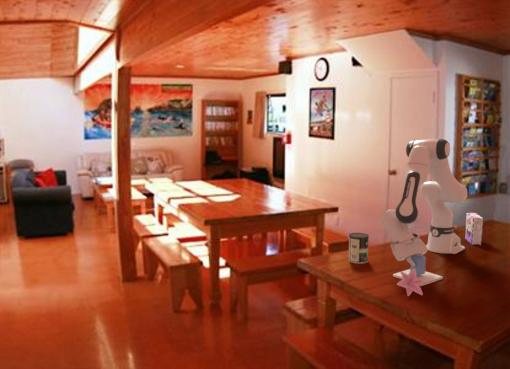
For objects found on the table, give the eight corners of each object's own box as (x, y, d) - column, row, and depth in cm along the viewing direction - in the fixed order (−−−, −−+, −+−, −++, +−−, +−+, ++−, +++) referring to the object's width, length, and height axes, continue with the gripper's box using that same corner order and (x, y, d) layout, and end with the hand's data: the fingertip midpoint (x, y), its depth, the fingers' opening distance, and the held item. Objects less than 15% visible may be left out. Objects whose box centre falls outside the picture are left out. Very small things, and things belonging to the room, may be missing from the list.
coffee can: (367, 258, 262) (368, 232, 260) (368, 264, 252) (369, 237, 250) (348, 257, 264) (348, 232, 262) (348, 263, 254) (348, 237, 252)
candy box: (464, 238, 301) (466, 212, 298) (474, 239, 300) (476, 212, 297) (471, 244, 287) (472, 217, 284) (481, 245, 286) (483, 217, 284)
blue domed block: (416, 270, 235) (417, 252, 233) (425, 273, 231) (425, 255, 229) (410, 272, 232) (410, 254, 231) (418, 275, 228) (419, 256, 227)
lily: (391, 296, 212) (400, 281, 206) (392, 278, 221) (400, 263, 216) (418, 306, 210) (427, 291, 205) (418, 287, 220) (427, 272, 214)
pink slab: (413, 270, 243) (414, 256, 242) (442, 278, 230) (443, 264, 229) (392, 276, 234) (393, 262, 233) (421, 286, 221) (421, 270, 220)
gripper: (392, 239, 229) (409, 265, 222) (420, 233, 240) (436, 257, 234) (384, 247, 233) (400, 272, 226) (412, 240, 245) (428, 264, 238)
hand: (419, 264), depth 230 cm, fingers closed on blue domed block, 5 cm apart
